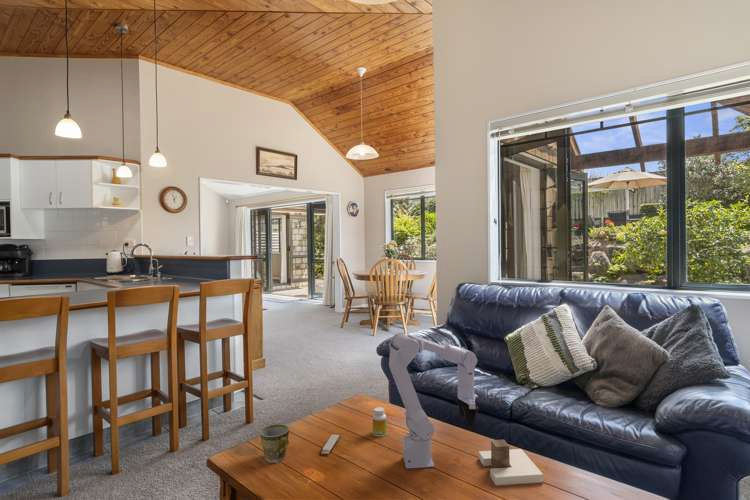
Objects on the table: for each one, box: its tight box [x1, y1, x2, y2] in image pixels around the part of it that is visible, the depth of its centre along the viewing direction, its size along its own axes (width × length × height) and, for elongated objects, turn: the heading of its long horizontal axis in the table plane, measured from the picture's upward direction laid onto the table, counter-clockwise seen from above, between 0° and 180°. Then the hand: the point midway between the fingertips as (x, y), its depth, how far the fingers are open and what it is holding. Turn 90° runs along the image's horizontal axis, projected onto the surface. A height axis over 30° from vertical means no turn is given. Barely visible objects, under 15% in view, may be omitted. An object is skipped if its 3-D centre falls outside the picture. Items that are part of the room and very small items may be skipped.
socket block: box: [478, 448, 544, 486], centre depth 133 cm, size 15×16×2 cm
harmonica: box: [319, 434, 341, 457], centre depth 152 cm, size 15×3×2 cm, turn 168°
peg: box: [490, 439, 510, 469], centre depth 133 cm, size 4×4×9 cm
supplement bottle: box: [372, 406, 388, 438], centre depth 160 cm, size 5×5×10 cm
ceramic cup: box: [259, 423, 290, 464], centre depth 142 cm, size 13×10×10 cm
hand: (466, 421), depth 146 cm, fingers open, 7 cm apart
